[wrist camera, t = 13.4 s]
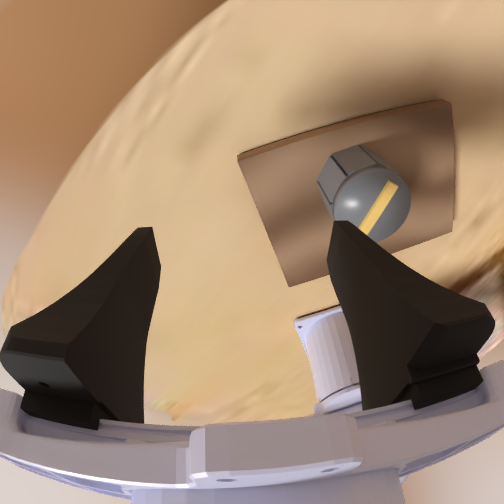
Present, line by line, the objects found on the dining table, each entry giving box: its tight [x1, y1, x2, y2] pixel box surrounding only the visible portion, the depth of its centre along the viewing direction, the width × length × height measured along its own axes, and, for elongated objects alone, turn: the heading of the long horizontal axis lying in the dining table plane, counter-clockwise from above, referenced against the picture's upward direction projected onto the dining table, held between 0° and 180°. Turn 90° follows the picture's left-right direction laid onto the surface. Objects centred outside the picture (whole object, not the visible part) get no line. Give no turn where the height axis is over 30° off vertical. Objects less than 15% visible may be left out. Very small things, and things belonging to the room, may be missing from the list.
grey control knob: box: [317, 145, 411, 242], centre depth 19 cm, size 5×5×4 cm
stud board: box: [237, 99, 455, 287], centre depth 21 cm, size 12×16×4 cm
